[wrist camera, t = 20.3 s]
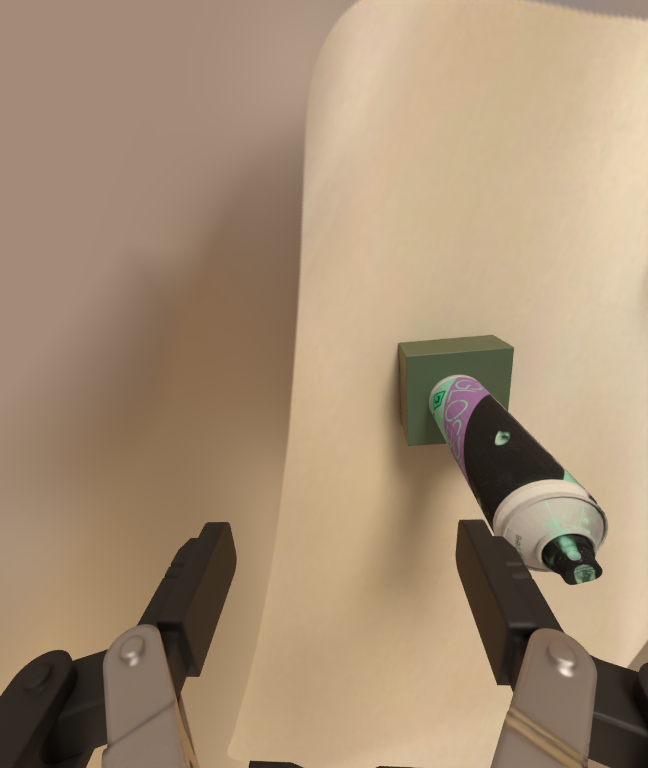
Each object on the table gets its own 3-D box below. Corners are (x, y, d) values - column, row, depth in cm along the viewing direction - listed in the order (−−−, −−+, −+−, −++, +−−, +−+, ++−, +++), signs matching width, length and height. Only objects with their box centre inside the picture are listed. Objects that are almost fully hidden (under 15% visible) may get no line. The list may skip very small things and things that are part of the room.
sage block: (398, 342, 38) (405, 356, 33) (493, 334, 37) (514, 347, 33) (400, 423, 42) (407, 446, 37) (487, 418, 41) (505, 440, 36)
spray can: (452, 364, 33) (586, 510, 15) (496, 392, 34) (676, 565, 16) (417, 407, 35) (497, 585, 17) (459, 433, 36) (581, 631, 18)
